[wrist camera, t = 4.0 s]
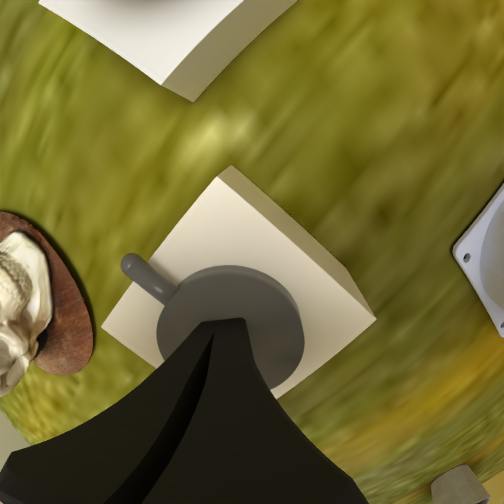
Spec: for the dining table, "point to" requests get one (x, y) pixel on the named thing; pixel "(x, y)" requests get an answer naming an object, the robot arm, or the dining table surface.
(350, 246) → the dining table surface
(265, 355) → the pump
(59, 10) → the square base with knob
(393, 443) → the dining table surface
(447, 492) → the house plant
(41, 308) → the skull
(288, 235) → the off-white square plinth
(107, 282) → the dining table surface
